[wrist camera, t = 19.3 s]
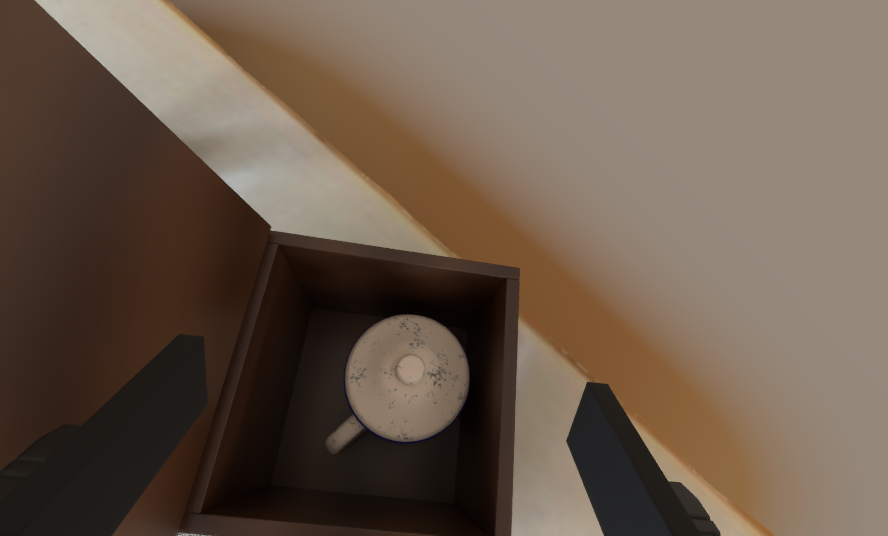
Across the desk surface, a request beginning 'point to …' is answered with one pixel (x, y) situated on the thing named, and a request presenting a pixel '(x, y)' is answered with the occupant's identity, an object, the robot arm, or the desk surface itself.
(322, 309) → the chest
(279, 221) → the desk surface
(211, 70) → the desk surface
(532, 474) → the desk surface
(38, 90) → the chest lid
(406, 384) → the teacup with lid
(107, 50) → the desk surface
